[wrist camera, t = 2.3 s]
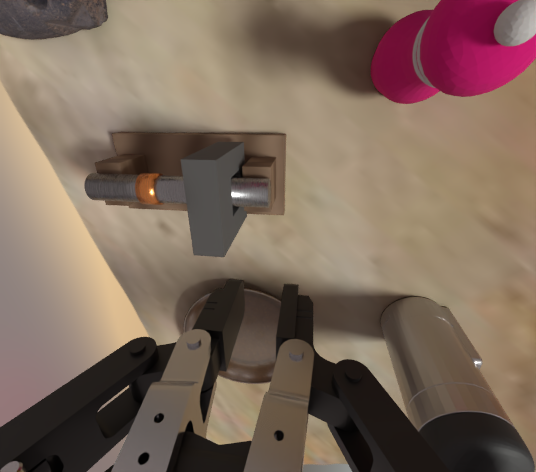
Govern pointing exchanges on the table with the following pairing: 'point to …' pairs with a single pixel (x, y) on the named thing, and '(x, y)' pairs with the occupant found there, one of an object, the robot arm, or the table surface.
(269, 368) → the plant saucer
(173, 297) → the table surface
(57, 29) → the perforated stone tool
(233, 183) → the pipe
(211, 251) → the collar
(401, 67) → the pepper mill
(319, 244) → the table surface
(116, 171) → the pipe stand
